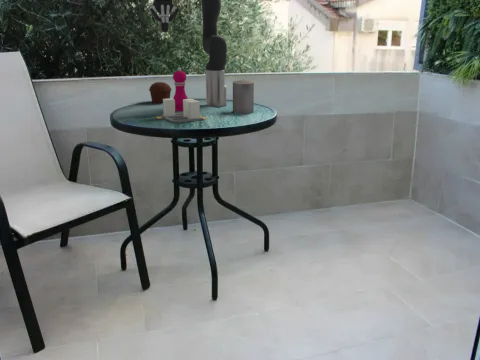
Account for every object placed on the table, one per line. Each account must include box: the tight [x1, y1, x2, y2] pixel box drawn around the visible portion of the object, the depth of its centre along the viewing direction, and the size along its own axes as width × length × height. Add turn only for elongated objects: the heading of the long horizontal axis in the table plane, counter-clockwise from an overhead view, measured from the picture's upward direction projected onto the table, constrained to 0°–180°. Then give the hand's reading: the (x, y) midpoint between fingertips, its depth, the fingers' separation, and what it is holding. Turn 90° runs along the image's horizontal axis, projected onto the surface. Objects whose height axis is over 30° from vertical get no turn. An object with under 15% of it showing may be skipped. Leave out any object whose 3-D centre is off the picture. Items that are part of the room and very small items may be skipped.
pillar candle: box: [232, 78, 255, 115], centre depth 211 cm, size 10×10×15 cm
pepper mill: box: [172, 66, 189, 112], centre depth 208 cm, size 7×7×20 cm
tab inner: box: [162, 97, 176, 116], centre depth 194 cm, size 4×3×8 cm
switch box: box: [153, 112, 210, 124], centre depth 193 cm, size 20×15×2 cm
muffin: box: [148, 81, 172, 104], centre depth 235 cm, size 12×11×10 cm
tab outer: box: [187, 99, 201, 119], centre depth 189 cm, size 4×3×8 cm
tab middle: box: [182, 98, 195, 117], centre depth 193 cm, size 4×3×8 cm
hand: (164, 32), depth 192 cm, fingers closed
